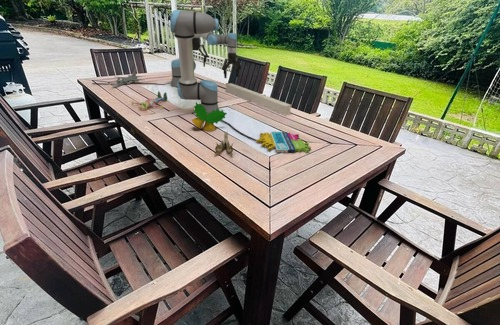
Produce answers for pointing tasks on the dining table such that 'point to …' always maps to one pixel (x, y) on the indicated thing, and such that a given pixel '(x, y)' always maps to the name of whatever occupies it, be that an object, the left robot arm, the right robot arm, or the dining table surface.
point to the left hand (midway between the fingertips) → (231, 77)
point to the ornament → (207, 117)
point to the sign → (283, 142)
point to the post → (259, 99)
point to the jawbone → (224, 145)
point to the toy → (152, 102)
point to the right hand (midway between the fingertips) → (195, 66)
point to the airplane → (127, 79)
